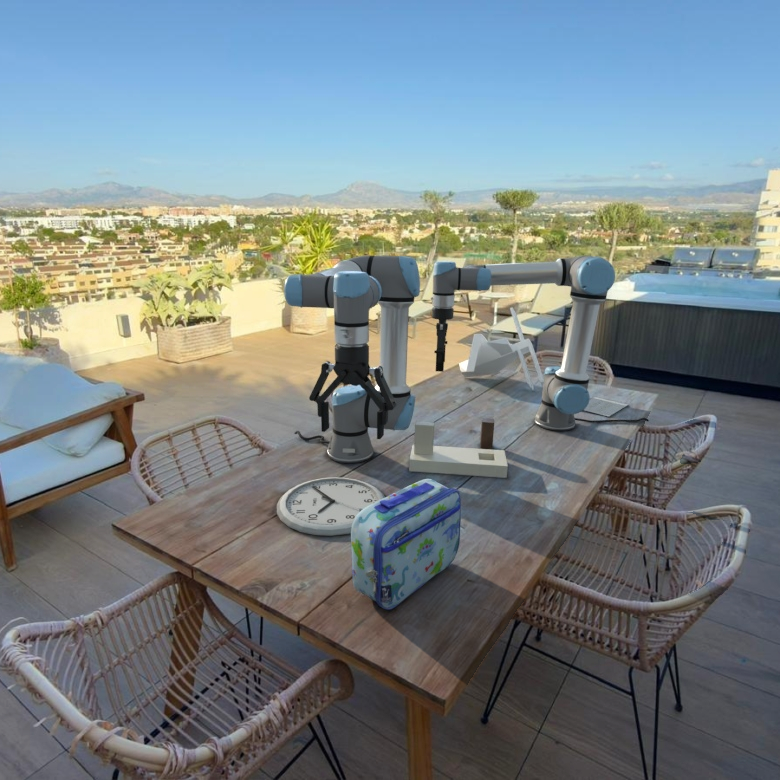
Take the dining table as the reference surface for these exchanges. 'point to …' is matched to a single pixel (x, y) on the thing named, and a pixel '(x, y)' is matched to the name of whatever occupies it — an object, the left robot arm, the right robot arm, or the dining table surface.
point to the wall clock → (326, 505)
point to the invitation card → (604, 406)
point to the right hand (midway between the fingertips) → (440, 366)
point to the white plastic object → (499, 355)
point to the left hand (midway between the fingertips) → (352, 433)
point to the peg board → (453, 457)
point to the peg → (487, 433)
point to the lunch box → (405, 541)
